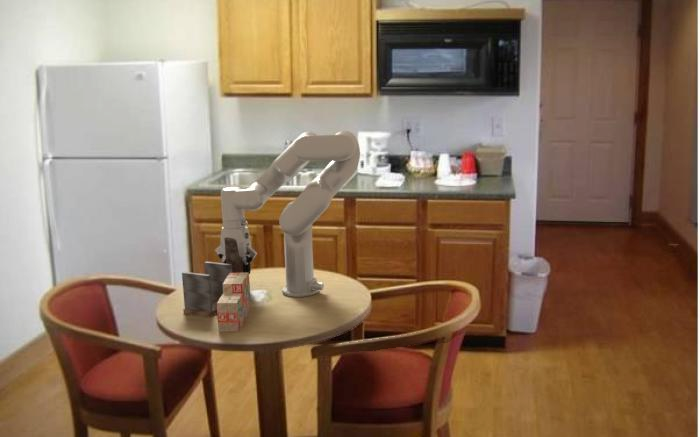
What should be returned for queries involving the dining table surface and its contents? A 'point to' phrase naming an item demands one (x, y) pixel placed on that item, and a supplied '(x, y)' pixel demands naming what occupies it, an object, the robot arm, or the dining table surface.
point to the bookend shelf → (204, 289)
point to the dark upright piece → (233, 256)
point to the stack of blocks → (234, 302)
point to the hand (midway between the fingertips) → (237, 273)
